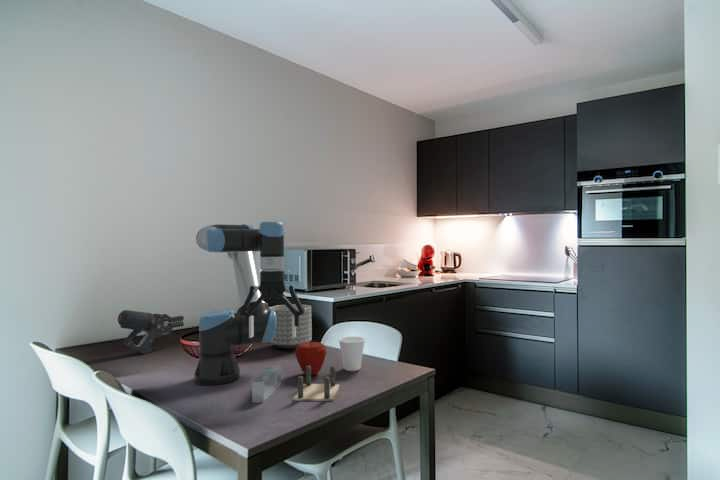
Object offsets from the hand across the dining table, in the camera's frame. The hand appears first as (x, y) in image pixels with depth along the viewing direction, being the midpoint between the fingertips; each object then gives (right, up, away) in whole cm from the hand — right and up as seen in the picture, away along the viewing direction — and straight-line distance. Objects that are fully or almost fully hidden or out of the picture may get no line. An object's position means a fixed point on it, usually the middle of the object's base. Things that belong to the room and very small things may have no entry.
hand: (272, 337), depth 131 cm
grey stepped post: (-1, -17, -2) cm, 17 cm away
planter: (-4, -18, +58) cm, 60 cm away
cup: (+25, -17, +22) cm, 37 cm away
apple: (+10, -17, +16) cm, 26 cm away
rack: (+15, -17, -3) cm, 22 cm away
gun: (-65, -19, +52) cm, 85 cm away
